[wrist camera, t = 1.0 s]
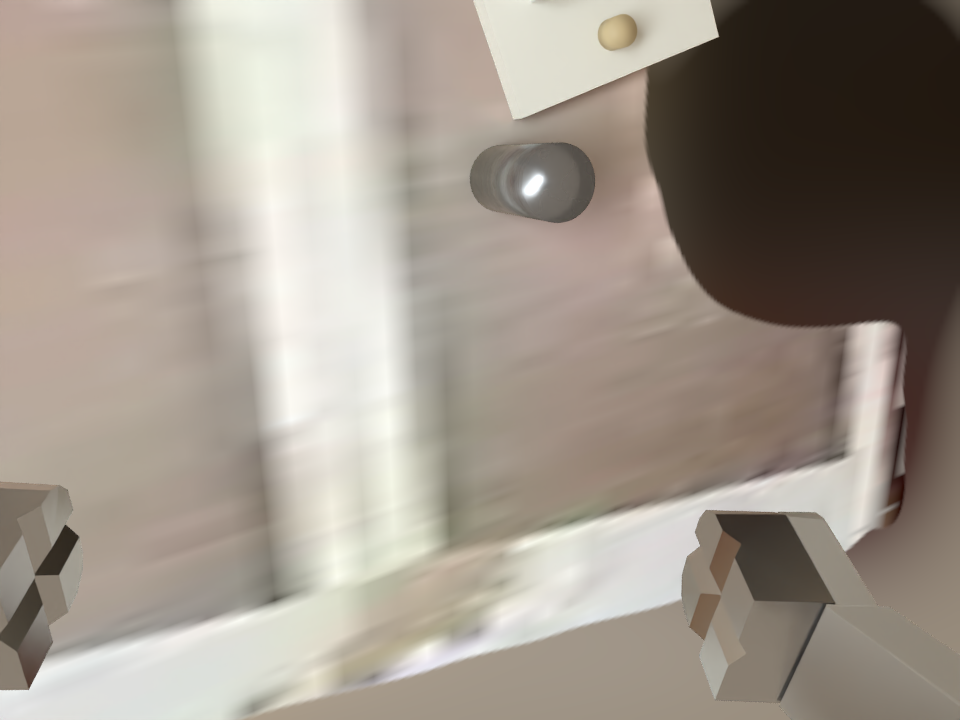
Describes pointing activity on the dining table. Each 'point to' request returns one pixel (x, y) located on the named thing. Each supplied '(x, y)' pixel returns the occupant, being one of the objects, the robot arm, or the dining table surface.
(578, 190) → the pin
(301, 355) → the dining table surface
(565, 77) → the housing
